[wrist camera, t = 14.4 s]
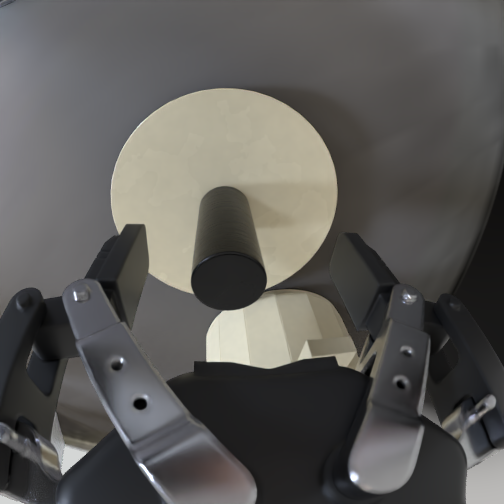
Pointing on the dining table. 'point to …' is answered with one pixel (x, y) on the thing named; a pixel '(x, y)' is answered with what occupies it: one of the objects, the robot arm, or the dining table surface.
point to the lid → (226, 193)
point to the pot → (281, 332)
